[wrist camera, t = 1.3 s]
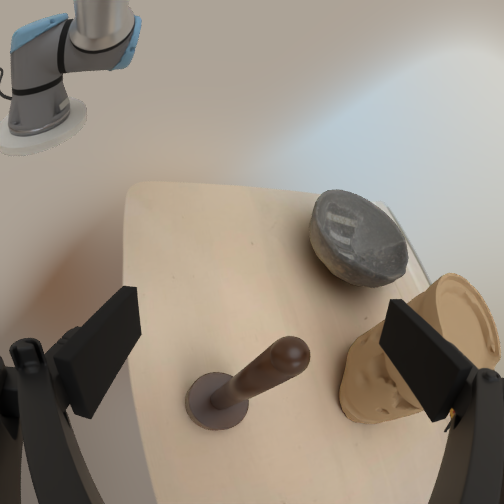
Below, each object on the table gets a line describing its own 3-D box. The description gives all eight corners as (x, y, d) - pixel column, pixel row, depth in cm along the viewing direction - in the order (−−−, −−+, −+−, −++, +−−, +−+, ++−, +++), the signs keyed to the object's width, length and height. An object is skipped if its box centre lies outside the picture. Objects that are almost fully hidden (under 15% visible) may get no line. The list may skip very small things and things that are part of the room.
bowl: (369, 230, 55) (392, 203, 49) (392, 308, 44) (424, 284, 38) (289, 207, 50) (308, 173, 44) (299, 297, 39) (328, 265, 33)
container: (406, 409, 33) (509, 366, 19) (341, 436, 28) (464, 406, 15) (385, 335, 40) (473, 272, 26) (319, 346, 36) (417, 272, 22)
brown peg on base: (175, 391, 27) (207, 321, 12) (222, 369, 30) (307, 276, 15) (204, 439, 25) (284, 441, 10) (250, 413, 28) (372, 367, 13)
